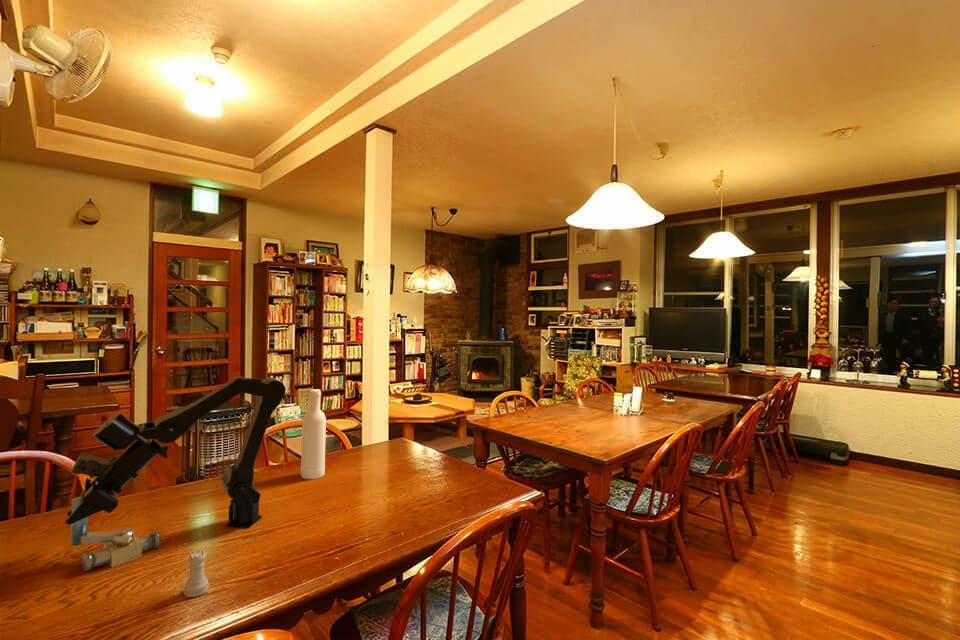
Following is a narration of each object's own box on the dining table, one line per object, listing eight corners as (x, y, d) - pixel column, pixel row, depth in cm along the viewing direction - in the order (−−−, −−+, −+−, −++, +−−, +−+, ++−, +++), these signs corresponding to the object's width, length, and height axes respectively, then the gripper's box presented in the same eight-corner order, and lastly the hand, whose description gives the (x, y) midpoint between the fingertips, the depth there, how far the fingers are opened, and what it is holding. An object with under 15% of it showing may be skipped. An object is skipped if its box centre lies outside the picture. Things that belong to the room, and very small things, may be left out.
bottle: (308, 470, 164) (310, 387, 164) (328, 472, 163) (331, 388, 162) (296, 478, 156) (298, 391, 156) (317, 480, 155) (320, 392, 154)
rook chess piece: (190, 585, 95) (191, 547, 95) (213, 585, 96) (214, 547, 96) (178, 598, 91) (179, 559, 91) (202, 598, 91) (202, 559, 91)
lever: (138, 536, 107) (138, 493, 107) (127, 544, 103) (128, 500, 103) (78, 538, 105) (79, 495, 105) (65, 547, 101) (66, 502, 101)
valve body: (153, 542, 112) (153, 526, 112) (161, 550, 108) (162, 534, 108) (81, 566, 101) (81, 548, 101) (88, 575, 97) (88, 557, 97)
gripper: (101, 431, 111) (38, 485, 105) (98, 452, 97) (25, 517, 90) (141, 457, 116) (83, 510, 110) (144, 481, 102) (77, 544, 95)
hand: (68, 519), depth 101 cm, fingers open, 4 cm apart
